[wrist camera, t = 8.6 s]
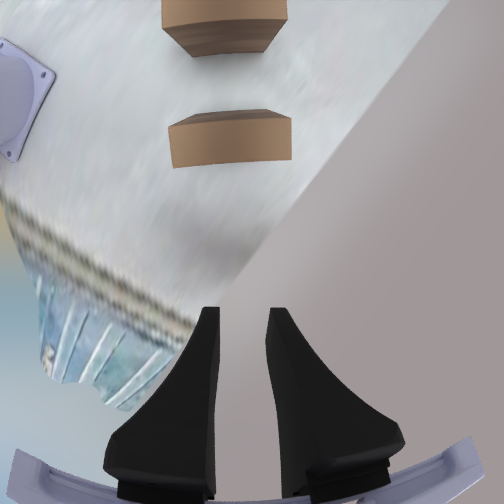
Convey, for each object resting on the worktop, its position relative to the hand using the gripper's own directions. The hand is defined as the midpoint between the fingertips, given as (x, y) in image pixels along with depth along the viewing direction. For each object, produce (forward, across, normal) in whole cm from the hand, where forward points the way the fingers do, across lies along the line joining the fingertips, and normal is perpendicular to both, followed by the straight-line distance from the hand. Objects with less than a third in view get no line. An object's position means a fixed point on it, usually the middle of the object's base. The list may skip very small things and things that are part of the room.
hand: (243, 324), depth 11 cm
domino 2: (+10, +1, -7) cm, 12 cm away
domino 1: (+10, +1, -12) cm, 16 cm away
